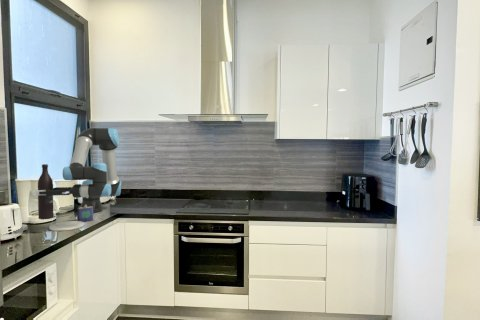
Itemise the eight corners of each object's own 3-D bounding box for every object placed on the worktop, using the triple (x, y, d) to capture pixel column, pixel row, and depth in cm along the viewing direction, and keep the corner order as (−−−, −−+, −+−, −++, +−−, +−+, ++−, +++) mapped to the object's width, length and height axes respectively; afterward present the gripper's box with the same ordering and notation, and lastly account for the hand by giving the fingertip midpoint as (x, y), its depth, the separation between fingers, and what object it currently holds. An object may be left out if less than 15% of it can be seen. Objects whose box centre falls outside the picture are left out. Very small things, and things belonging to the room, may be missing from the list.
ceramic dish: (56, 223, 188) (56, 221, 188) (87, 222, 191) (87, 220, 191) (43, 231, 170) (43, 229, 170) (78, 230, 174) (78, 228, 174)
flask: (92, 219, 198) (92, 203, 198) (94, 220, 196) (93, 204, 196) (77, 222, 192) (76, 205, 191) (78, 223, 190) (78, 206, 189)
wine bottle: (45, 220, 165) (44, 164, 164) (35, 219, 167) (34, 164, 166) (56, 217, 172) (55, 164, 171) (46, 216, 174) (45, 164, 173)
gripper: (75, 200, 163) (27, 201, 158) (86, 194, 182) (44, 195, 178) (75, 186, 162) (27, 187, 158) (86, 181, 182) (44, 182, 178)
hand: (36, 191), depth 168 cm, fingers closed on wine bottle, 7 cm apart
